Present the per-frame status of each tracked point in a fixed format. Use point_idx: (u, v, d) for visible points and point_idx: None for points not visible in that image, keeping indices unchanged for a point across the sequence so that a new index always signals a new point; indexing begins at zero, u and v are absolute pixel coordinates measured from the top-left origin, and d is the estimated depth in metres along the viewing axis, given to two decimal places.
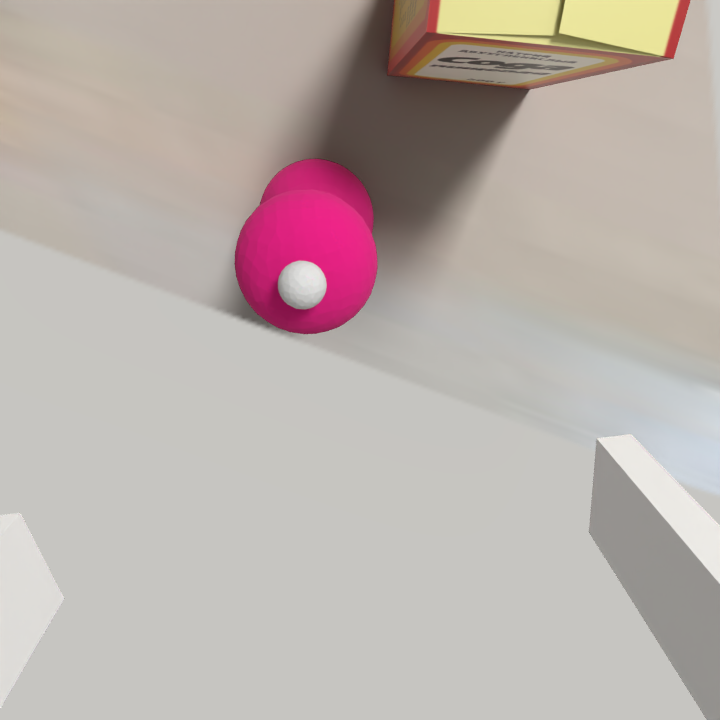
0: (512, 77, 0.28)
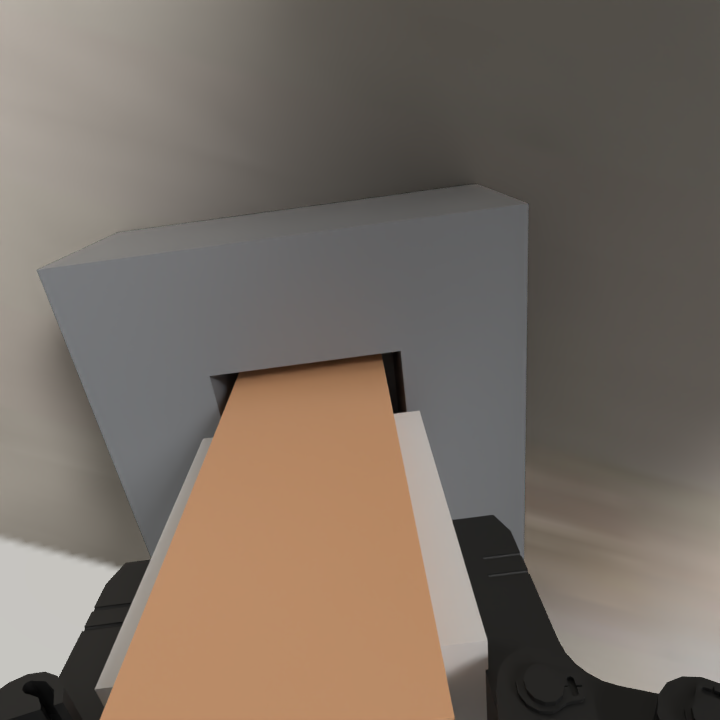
0: None
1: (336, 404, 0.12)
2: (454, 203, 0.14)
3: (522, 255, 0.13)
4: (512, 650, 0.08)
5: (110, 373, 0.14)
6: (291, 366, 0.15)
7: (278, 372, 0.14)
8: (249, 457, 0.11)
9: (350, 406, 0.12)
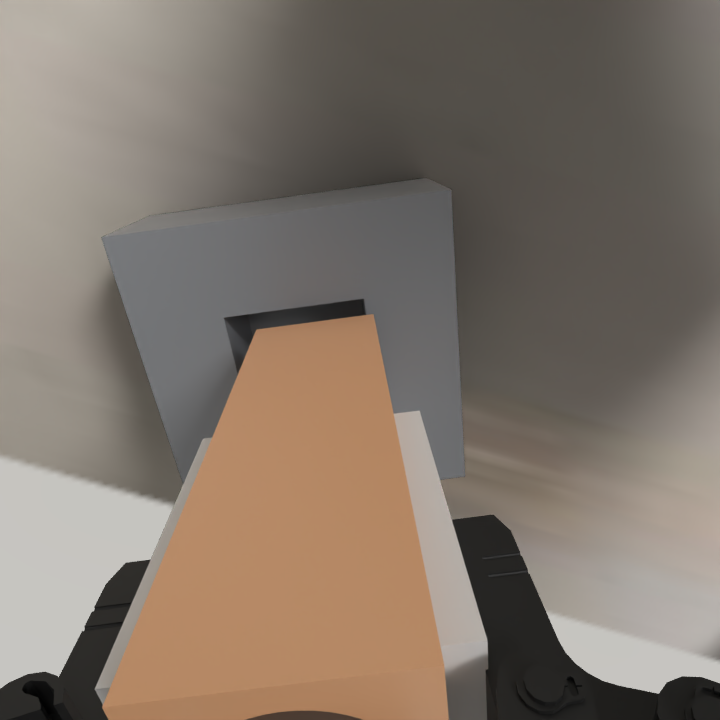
0: None
1: (336, 392, 0.13)
2: (402, 190, 0.19)
3: (449, 227, 0.18)
4: (512, 650, 0.08)
5: (151, 315, 0.18)
6: (293, 357, 0.15)
7: (280, 363, 0.15)
8: (253, 441, 0.11)
9: (350, 394, 0.13)
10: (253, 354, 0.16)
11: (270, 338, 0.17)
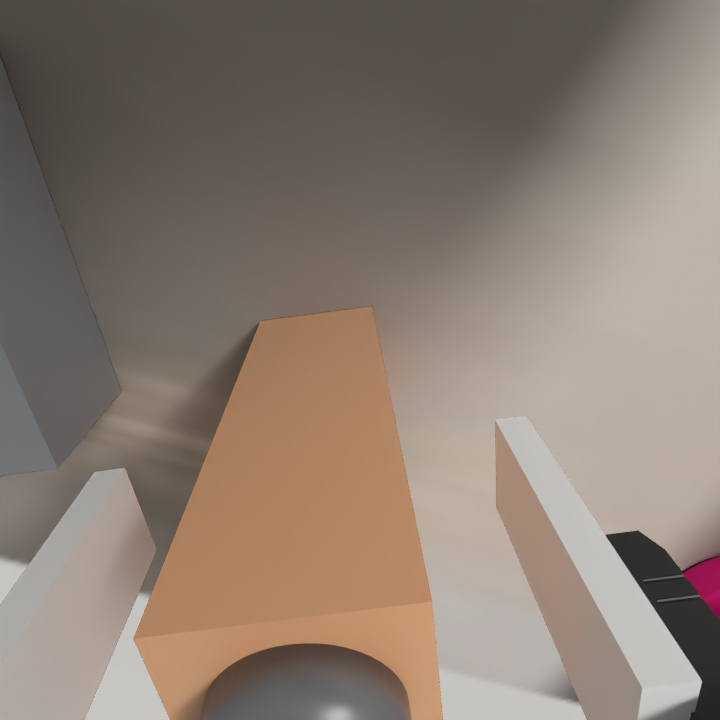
0: None
1: (337, 376, 0.14)
2: None
3: None
4: (714, 689, 0.07)
5: None
6: (295, 346, 0.16)
7: (284, 352, 0.16)
8: (260, 420, 0.12)
9: (349, 378, 0.14)
10: (258, 343, 0.17)
11: (273, 328, 0.18)
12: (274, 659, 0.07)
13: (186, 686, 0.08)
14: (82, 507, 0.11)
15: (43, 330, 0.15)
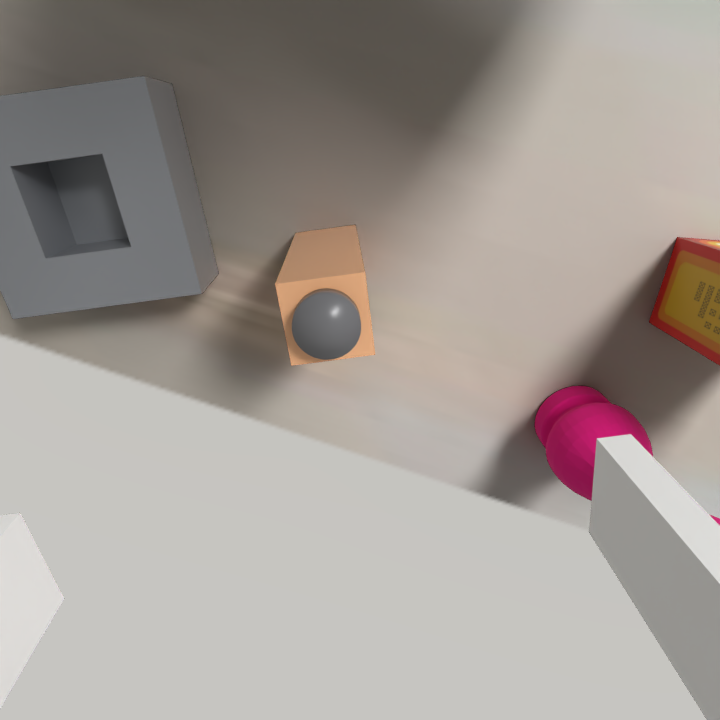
0: None
1: (336, 243, 0.30)
2: None
3: (148, 102, 0.27)
4: None
5: None
6: (316, 237, 0.33)
7: (310, 239, 0.32)
8: (304, 254, 0.29)
9: (342, 243, 0.30)
10: (296, 238, 0.33)
11: (303, 234, 0.34)
12: (317, 290, 0.23)
13: (289, 306, 0.24)
14: None
15: (194, 227, 0.32)
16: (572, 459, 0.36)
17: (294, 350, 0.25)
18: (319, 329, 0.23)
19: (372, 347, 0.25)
